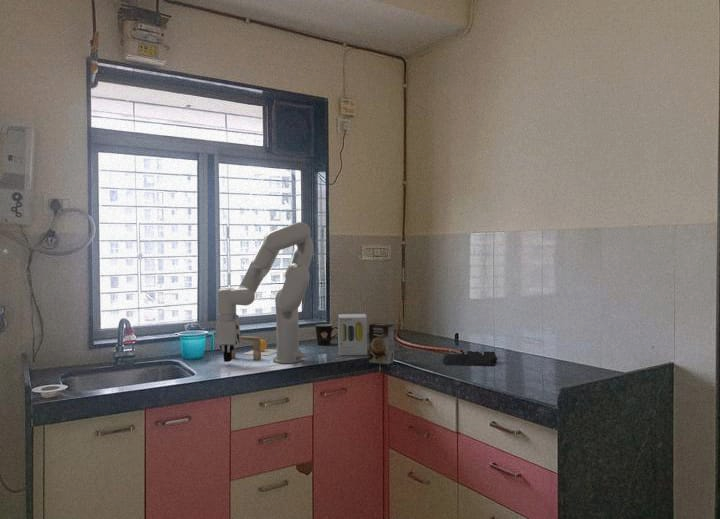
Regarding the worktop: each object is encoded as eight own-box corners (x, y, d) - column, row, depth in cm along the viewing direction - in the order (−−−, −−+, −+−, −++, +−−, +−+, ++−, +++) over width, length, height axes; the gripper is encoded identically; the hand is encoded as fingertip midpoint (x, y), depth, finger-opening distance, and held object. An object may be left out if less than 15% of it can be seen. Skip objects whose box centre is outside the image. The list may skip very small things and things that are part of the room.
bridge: (231, 357, 235) (231, 335, 235) (260, 358, 230) (260, 337, 230) (227, 358, 232) (227, 336, 232) (257, 360, 227) (257, 338, 227)
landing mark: (280, 350, 250) (280, 350, 250) (267, 355, 238) (267, 355, 238) (256, 349, 254) (256, 348, 254) (242, 354, 242) (242, 353, 242)
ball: (269, 338, 250) (263, 341, 244) (268, 350, 250) (263, 353, 245) (257, 337, 251) (251, 340, 246) (257, 349, 252) (251, 352, 246)
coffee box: (368, 362, 219) (368, 324, 219) (375, 359, 225) (374, 322, 225) (388, 364, 215) (387, 325, 215) (394, 361, 221) (394, 323, 221)
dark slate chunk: (442, 359, 227) (442, 348, 227) (494, 360, 224) (494, 349, 224) (443, 367, 212) (443, 355, 212) (499, 367, 209) (499, 356, 209)
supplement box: (338, 355, 235) (337, 317, 235) (338, 350, 249) (338, 314, 248) (367, 355, 236) (367, 316, 236) (366, 350, 249) (365, 313, 249)
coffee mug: (312, 345, 262) (312, 326, 262) (319, 343, 271) (318, 323, 270) (334, 346, 259) (334, 326, 259) (340, 343, 267) (340, 324, 267)
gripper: (247, 317, 220) (248, 360, 220) (217, 316, 224) (217, 358, 225) (237, 319, 213) (238, 364, 213) (206, 318, 217) (207, 362, 217)
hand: (227, 361), depth 219 cm, fingers closed
